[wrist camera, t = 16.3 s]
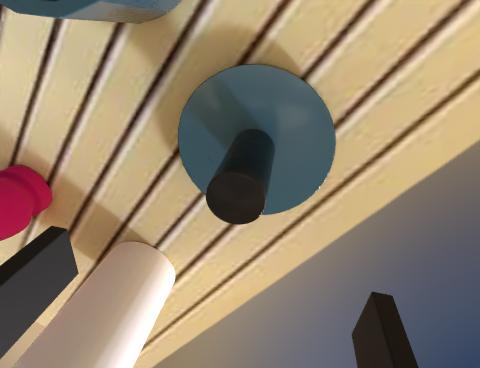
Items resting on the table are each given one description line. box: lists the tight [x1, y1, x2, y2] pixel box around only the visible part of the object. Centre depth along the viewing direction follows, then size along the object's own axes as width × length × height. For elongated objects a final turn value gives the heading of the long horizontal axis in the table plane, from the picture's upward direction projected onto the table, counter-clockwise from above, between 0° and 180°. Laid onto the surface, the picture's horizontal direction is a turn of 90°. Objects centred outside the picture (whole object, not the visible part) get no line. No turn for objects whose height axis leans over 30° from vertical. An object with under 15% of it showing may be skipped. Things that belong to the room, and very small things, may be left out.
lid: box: [178, 64, 336, 225], centre depth 23 cm, size 15×15×10 cm
